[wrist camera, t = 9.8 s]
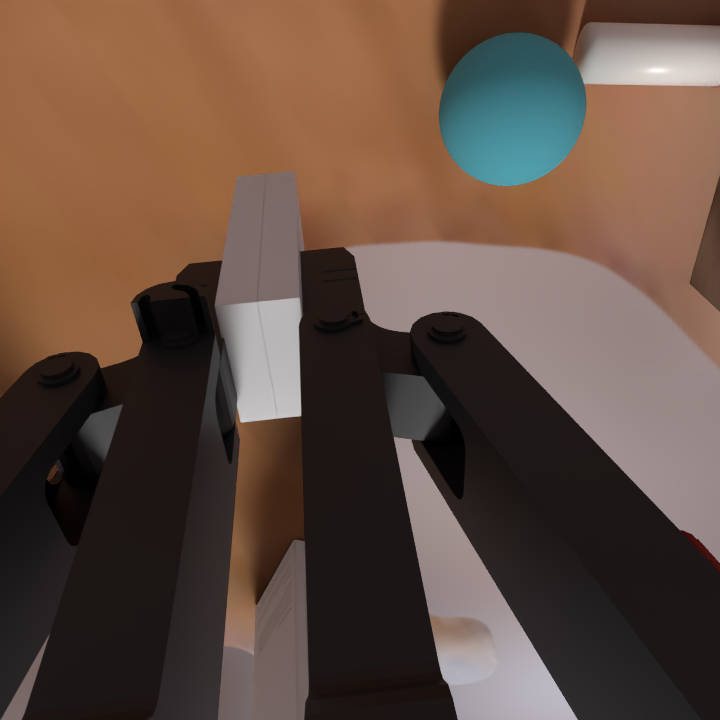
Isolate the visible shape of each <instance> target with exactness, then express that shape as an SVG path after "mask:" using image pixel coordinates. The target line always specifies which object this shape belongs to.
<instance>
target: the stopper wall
mask: <svg viewBox="0 0 720 720" xmlns="http://www.w3.org/2000/svg"><path fill="white" fill-rule="evenodd" d="M690 284H691V285H692V286H693V287H694V288H695V289H696V290H697V291H698V292H699V293H700V294H701V295H703V296H704V297H705V298H706V299H707V300H708V301H709V302H710V303H711V304H712V305H713V306H714V307H715V308H716V309H717V310H719V311H720V178H719V182H718V185H717V189H716V193H715V196H714V200H713V203H712V207H711V210H710V214H709V217H708V221H707V225H706V228H705V232H704V235H703V239H702V242H701V246H700V250H699V253H698V257H697V260H696V264H695V267H694V271H693V275H692V278H691V282H690Z"/></svg>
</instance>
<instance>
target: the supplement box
mask: <svg viewBox="0 0 720 720" xmlns="http://www.w3.org/2000/svg"><path fill="white" fill-rule="evenodd" d="M308 691H309V673H308V638H307V602H306V567H305V541H301V540H293V542H292V543H291V545H290V547H289V549H288V550H287V552H286V554H285V556H284V558H283V559H282V561H281V563H280V565H279V566H278V568H277V570H276V572H275V574H274V575H273V577H272V579H271V581H270V583H269V584H268V586H267V588H266V590H265V591H264V593H263V595H262V597H261V599H260V600H259V602H258V604H257V606H256V610H255V641H254V673H253V706H252V720H304V714H305V701H306V699H307V697H308Z"/></svg>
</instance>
